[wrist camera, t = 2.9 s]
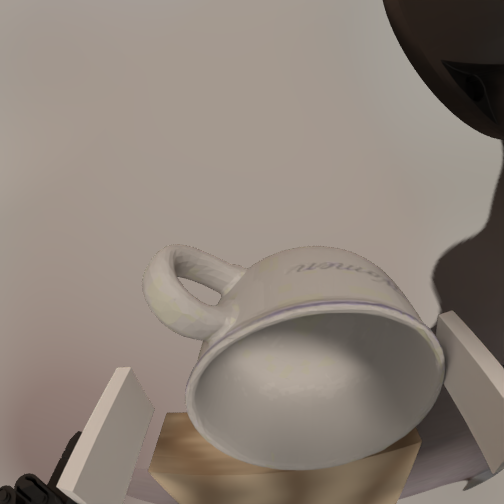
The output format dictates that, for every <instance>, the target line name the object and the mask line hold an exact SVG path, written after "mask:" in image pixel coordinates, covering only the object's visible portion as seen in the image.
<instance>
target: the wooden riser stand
mask: <svg viewBox="0 0 504 504" xmlns="http://www.w3.org/2000/svg"><path fill="white" fill-rule="evenodd" d="M421 442H422V441H421V438H420V436H419V433H418V431H417V429H416V427H415V428H413V429H412V430H411V431H410V432H409V433H408V434H407V435H406V436H404V437H402V438H401V439H399V440H398V441H396V442H395V443H393V444H392V445H390V446H388V447H387V448H386V449H385V450H382V451H380V452H378V453H376V454H372V455H369V456H367V457H364V458H362V459H360V460H356V461H353V462H350V463H347V464H343V465H339V466H335V467H329V468H324V469H316V470H279V469H272V468H268V467H260V466H257V465H253V464H249V463H246V462H243V461H240V460H238V459H235V458H233V457H231V456H229V455H227V454H225V453H223V452H221V451H220V450H218V449H217V448H215V447H214V446H213V445H212V444H210V443H209V442H208V441H206V440H205V439H204V438H203V437H202V436H201V434H200V433H199V432H198V431H197V430H196V429H195V427H194V425H193V424H192V422H191V420H190V418H189V416H188V414H187V413H167V414H166V417H165V420H164V423H163V426H162V429H161V432H160V435H159V438H158V442H157V445H156V448H155V451H154V454H153V457H152V460H151V464H150V467H149V470H148V472H149V473H150V474H151V475H152V476H153V478H154V479H155V480H156V481H157V482H158V483H159V484H160V485H161V486H162V487H163V488H164V489H165V490H166V491H167V492H168V493H169V494H170V495H171V496H172V497H173V498H174V499H175V500H176V501H177V502H178V503H179V504H396V503H397V501H398V499H399V496H400V494H401V492H402V490H403V488H404V485H405V483H406V481H407V479H408V476H409V474H410V471H411V469H412V466H413V464H414V461H415V459H416V456H417V453H418V451H419V448H420V445H421Z"/></svg>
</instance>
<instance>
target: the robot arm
mask: <svg viewBox="0 0 504 504" xmlns="http://www.w3.org/2000/svg"><path fill="white" fill-rule="evenodd" d="M383 3H384V7H385V11H386V14H387V17H388V19H389V22H390V25H391V27H392V29H393V32H394V34H395V36H396V38H397V40H398V42H399V44H400V46H401V47H402V49H403V51H404V53H405V54H406V56H407V58H408V60H409V61H410V63H411V64H412V66H413V67H414V69H415V70H416V72H417V73H418V74H419V76H420V77H421V79H422V80H423V81H424V82H425V84H426V85H427V86H428V88H429V89H430V90H431V91H432V92H433V94H434V95H435V96H436V97H437V98H438V99H439V100H440V101H441V102H442V103H443V104H444V105H445V106H446V107H447V108H448V109H449V110H450V111H451V112H452V113H453V114H454V115H456V116H457V117H458V118H459V119H460V120H462V121H463V122H464V123H466V124H467V125H469V126H470V127H472V128H473V129H475V130H477V131H478V132H480V133H483V134H484V135H487V136H490V137H492V138H496V139H501V140H504V0H383ZM436 338H437V339H438V341H439V344H440V346H441V347H442V349H443V355H444V358H445V378H444V382H443V384H444V386H445V387H446V389H447V391H448V392H449V394H450V396H451V397H452V399H453V401H454V402H455V404H456V406H457V408H458V409H459V411H460V413H461V415H462V416H463V418H464V420H465V422H466V424H467V425H468V427H469V429H470V431H471V433H472V435H473V436H474V438H475V440H476V442H477V444H478V446H479V448H480V450H481V452H482V454H483V456H484V458H485V459H486V462H487V464H488V466H489V468H490V470H491V472H492V474H495V473H497V472H498V471H500V470H502V469H503V468H504V365H503V366H501V365H500V363H499V362H498V361H497V360H496V358H495V357H494V356H493V355H492V354H491V353H490V351H489V350H488V349H487V348H486V347H485V346H484V344H483V343H482V342H481V341H480V340H479V339H478V338H477V336H476V335H475V334H474V333H473V332H472V331H471V330H470V329H469V327H468V326H467V325H466V324H465V323H464V322H463V321H462V320H461V319H460V318H459V317H458V316H457V314H456V313H455V312H454V311H453V310H452V311H449V312H446V313H442V314H439V315H438V320H437V328H436ZM154 409H155V408H154V407H153V405H152V404H151V402H150V400H149V398H148V397H147V395H146V393H145V392H144V390H143V388H142V386H141V384H140V383H139V381H138V379H137V377H136V375H135V373H134V372H133V370H132V368H131V367H122V368H117V369H116V371H115V372H114V374H113V376H112V378H111V379H110V382H109V383H108V385H107V387H106V389H105V391H104V392H103V394H102V396H101V398H100V400H99V402H98V404H97V405H96V407H95V409H94V411H93V413H92V415H91V417H90V419H89V421H88V423H87V424H86V427H85V428H84V430H83V432H80V431H78V432H77V433H76V434H75V435H74V436H73V437H72V438H71V439H70V441H69V443H68V445H67V446H66V448H65V449H66V450H65V451H64V453H63V454H62V458H61V459H60V460H59V462H58V464H57V466H56V468H55V470H54V472H53V474H52V476H51V479H50V481H49V483H48V484H47V485H46V484H44V483H43V482H42V481H41V480H40V479H39V478H38V477H37V476H35V475H34V474H24V475H23V476H21V477H20V478H19V479H18V480H17V481H16V484H15V486H14V487H15V488H14V489H13V488H12V487H11V486H2V487H1V488H0V504H123V502H124V499H125V496H126V493H127V490H128V486H129V483H130V480H131V477H132V474H133V471H134V468H135V465H136V462H137V459H138V456H139V453H140V450H141V447H142V444H143V441H144V438H145V435H146V432H147V429H148V427H149V424H150V421H151V418H152V415H153V412H154Z"/></svg>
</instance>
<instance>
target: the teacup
mask: <svg viewBox="0 0 504 504" xmlns="http://www.w3.org/2000/svg"><path fill="white" fill-rule="evenodd" d="M177 277H182V278H186V279H189V280H192V281H195V282H198V283H200V284H203V285H205V286H207V287H209V288H211V289H213V290H215V291H217V292H219V293H220V294H221V296H222V298H221V299H220V301H219V303H218V304H217V305H216V306H211V305H207V304H205V303H203V302H201V301H200V300H198V299H197V298H195V297H194V296H193V295H191V294H190V293H189V292H188V291H187V290H186V289H185V288H184V286H183V285H182V283H181V282H180V281H179V279H178V278H177ZM142 281H143V282H142V290H143V294H144V297H145V300H146V302H147V304H148V306H149V308H150V310H151V311H152V312H153V314H154V315H155V316H156V317H157V318H158V319H159V321H160V322H161V323H162V324H164V325H165V326H166V327H168V328H169V329H171V330H172V331H174V332H175V333H177V334H179V335H182V336H184V337H189V338H192V339H197V340H203V344H202V347H201V350H200V353H199V357H198V360H197V363H196V365H195V366H194V368H193V370H192V372H191V375H190V377H189V379H188V382H187V385H186V390H185V404H186V409H187V414H188V416H189V418H190V420H191V422H192V424H193V425H194V427H195V429H196V430H197V431H198V432H199V433H200V434H201V436H202V437H203V438H204V439H205V440H206V441H208V442H209V443H210V444H212V445H213V446H214V447H215V448H217V449H218V450H220V451H221V452H223V453H225V454H227V455H229V456H231V457H233V458H235V459H238V460H240V461H243V462H246V463H249V464H253V465H257V466H260V467H268V468H272V469H279V470H316V469H324V468H329V467H335V466H339V465H343V464H347V463H350V462H353V461H356V460H360V459H362V458H364V457H367V456H369V455H372V454H376V453H378V452H380V451H382V450H385V449H386V448H387V447H388V446H390V445H392V444H393V443H395V442H396V441H398V440H399V439H401V438H402V437H404V436H406V435H407V434H408V433H409V432H410V431H411V430H412V429H413V428H415V427H416V426H417V425H418V424H419V423H420V422H421V421H422V420H423V419H424V417H425V416H426V415H427V414H428V412H429V411H430V410H431V408H432V407H433V405H434V404H435V402H436V400H437V398H438V396H439V394H440V391H441V388H442V385H443V382H444V378H445V358H444V355H443V349H442V347H441V346H440V344H439V341H438V339H437V338H436V336H435V335H434V333H433V332H432V331H431V329H430V328H429V327H427V326H426V325H425V324H424V323H423V322H422V320H421V319H420V317H419V315H418V314H417V312H416V311H415V309H414V308H413V306H412V305H411V304H410V302H409V301H408V299H407V298H406V296H405V295H404V294H403V292H401V290H400V289H399V288H398V286H397V285H396V284H395V283H394V282H393V280H392V279H391V278H390V277H389V276H388V275H387V274H386V273H385V272H383V270H381V269H380V268H379V267H378V266H376V265H375V264H373V263H372V262H370V261H369V260H367V259H365V258H363V257H361V256H359V255H357V254H355V253H352V252H349V251H346V250H342V249H338V248H332V247H322V246H312V247H311V246H309V247H299V248H293V249H289V250H284V251H281V252H279V253H276V254H273V255H271V256H268V257H266V258H265V259H263V260H261V261H259V262H257V263H255V264H254V265H253V266H251V267H250V268H243V267H242V266H240V265H235V264H229V263H227V262H225V261H223V260H221V259H219V258H217V257H215V256H213V255H210V254H208V253H206V252H204V251H202V250H199V249H197V248H194V247H190V246H187V245H180V244H175V245H169V246H167V247H164V248H163V249H161V250H160V251H158V252H157V253H156V255H155V256H154V257H153V258H152V259H151V261H150V262H149V264H148V266H147V268H146V269H145V272H144V275H143V279H142Z"/></svg>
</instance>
